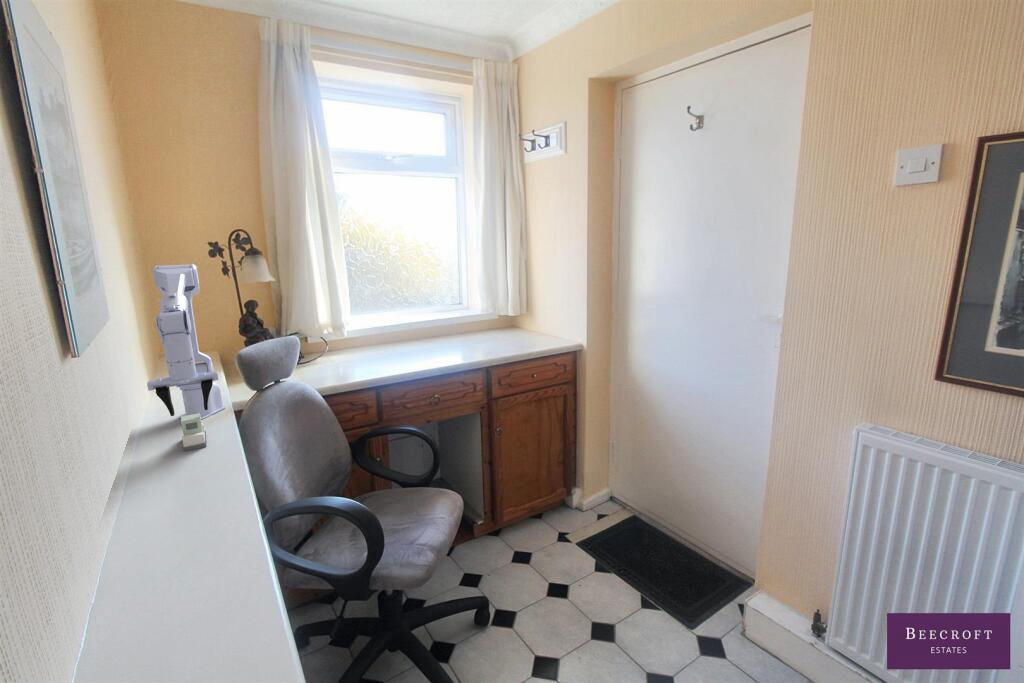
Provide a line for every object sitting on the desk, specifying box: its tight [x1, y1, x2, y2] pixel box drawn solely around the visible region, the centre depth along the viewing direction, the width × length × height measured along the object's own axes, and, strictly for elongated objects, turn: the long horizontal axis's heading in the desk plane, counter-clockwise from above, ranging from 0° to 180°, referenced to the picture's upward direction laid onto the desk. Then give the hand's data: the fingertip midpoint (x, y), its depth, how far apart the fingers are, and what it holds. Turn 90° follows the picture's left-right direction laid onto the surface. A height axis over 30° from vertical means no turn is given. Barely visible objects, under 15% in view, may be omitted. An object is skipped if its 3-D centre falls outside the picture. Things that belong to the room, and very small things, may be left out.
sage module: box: [180, 413, 203, 436], centre depth 122 cm, size 4×4×6 cm
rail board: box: [181, 422, 207, 452], centre depth 123 cm, size 9×5×3 cm, turn 32°
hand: (189, 411), depth 121 cm, fingers open, 6 cm apart
